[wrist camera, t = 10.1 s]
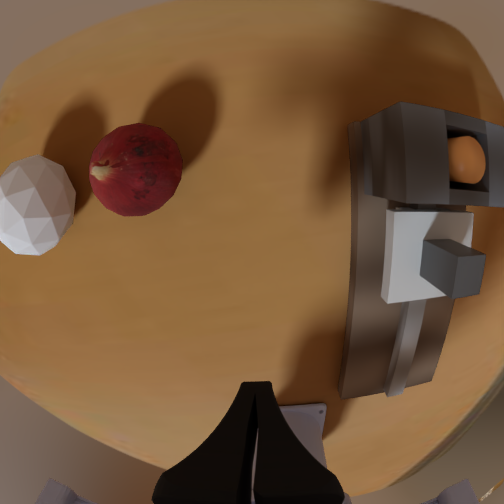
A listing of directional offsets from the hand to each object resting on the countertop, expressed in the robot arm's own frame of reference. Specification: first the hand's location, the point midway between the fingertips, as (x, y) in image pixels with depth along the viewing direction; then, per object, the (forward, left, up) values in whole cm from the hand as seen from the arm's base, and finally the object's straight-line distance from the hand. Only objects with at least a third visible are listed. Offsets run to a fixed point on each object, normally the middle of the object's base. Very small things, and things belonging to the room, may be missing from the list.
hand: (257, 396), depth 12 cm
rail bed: (+2, -12, -10) cm, 16 cm away
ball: (+10, +17, -10) cm, 22 cm away
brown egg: (+11, -12, -6) cm, 17 cm away
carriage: (+5, -12, -8) cm, 15 cm away
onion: (+11, +7, -10) cm, 16 cm away
